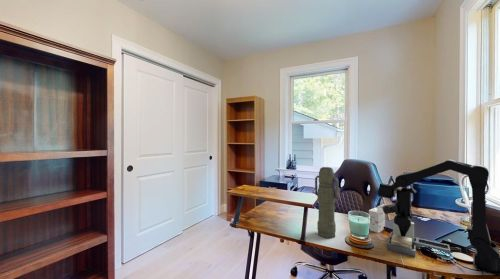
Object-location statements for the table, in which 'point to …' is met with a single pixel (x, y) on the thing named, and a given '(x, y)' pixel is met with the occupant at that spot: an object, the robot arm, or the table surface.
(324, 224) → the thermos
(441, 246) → the rack
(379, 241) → the table surface
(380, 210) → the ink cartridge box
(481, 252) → the robot arm
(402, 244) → the block
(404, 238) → the offcut top
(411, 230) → the pale grey block
